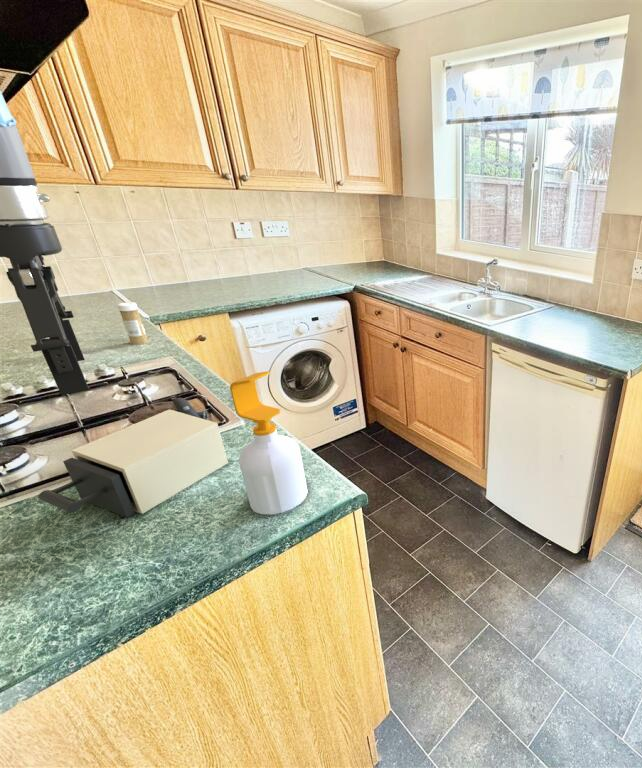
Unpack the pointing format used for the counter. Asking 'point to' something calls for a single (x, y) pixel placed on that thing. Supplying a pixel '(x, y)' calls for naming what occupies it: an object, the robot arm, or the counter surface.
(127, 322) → the sprinkles bottle
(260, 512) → the spray bottle
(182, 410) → the grey club-shaped piece
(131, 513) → the dark grey drawer
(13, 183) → the robot arm
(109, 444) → the drawer box
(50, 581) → the counter surface
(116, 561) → the counter surface
